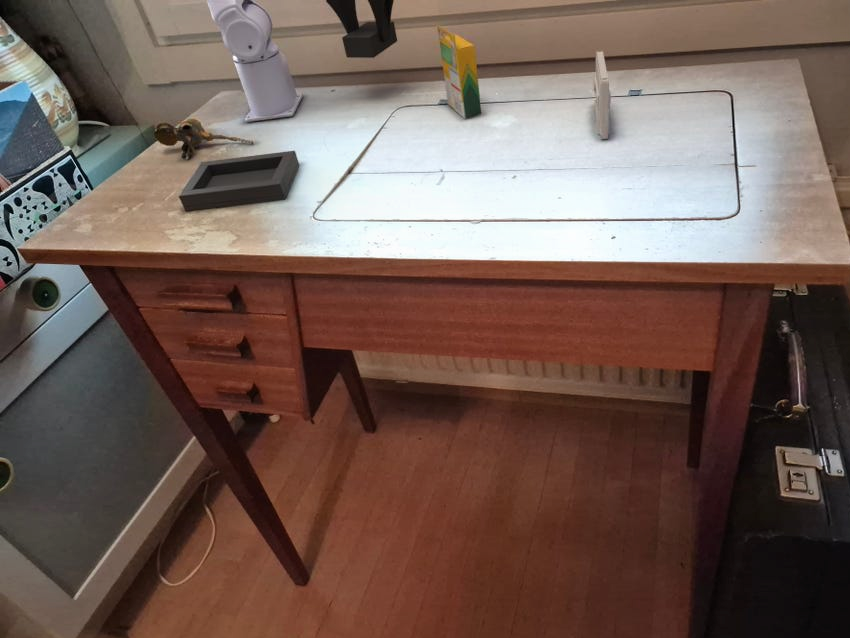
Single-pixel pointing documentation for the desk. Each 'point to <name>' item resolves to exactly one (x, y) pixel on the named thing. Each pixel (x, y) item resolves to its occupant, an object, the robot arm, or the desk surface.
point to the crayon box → (460, 74)
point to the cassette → (602, 96)
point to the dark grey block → (367, 41)
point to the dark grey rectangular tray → (240, 181)
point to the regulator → (187, 136)
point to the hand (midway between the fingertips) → (370, 39)
